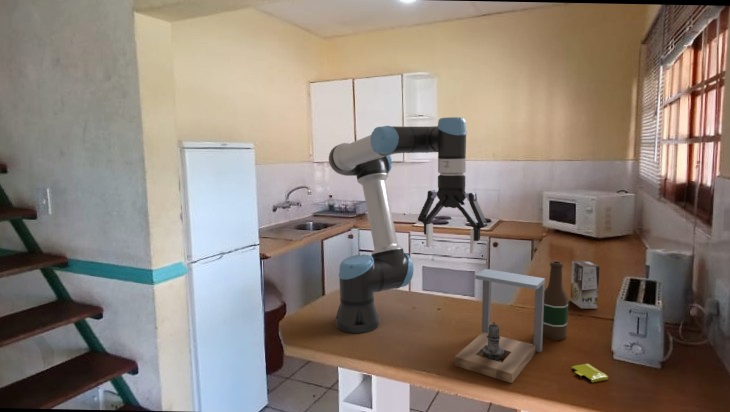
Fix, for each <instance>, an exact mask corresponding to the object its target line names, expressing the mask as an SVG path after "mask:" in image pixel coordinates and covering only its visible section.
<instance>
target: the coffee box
mask: <svg viewBox="0 0 730 412" xmlns="http://www.w3.org/2000/svg"><path fill="white" fill-rule="evenodd" d="M600 267H601V266H599V265H598V264H596V263H594V262H592V261H589V260H584V259H583V260H572V261H571V273H570V274H571V277H570V281H571V282H570V302H572V304H574V305H576V306H577V307H578V308H579V309H598V300H599V285H600V284H599V283H600Z"/></svg>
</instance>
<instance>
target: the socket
mask: <svg viewBox="0 0 730 412" xmlns="http://www.w3.org/2000/svg"><path fill="white" fill-rule="evenodd" d="M487 336H488V333H485V332H482V331H481V333H480V334H479V335H478V336H477V337H475V338H474V339H473V340H472V341H471V342H470V343H469V344H467V345H466V346H465V347H464V348H463V349H462V350H460V352H458V353H457V354H456V355H455V356H454V366H455V367H459V368H462V369H465V370H469V371H472V372H475V373H477V374H481V375H484V376H488V377H491V378H495V379H496V380H500V381H504V382H506V383H511V384H512V383H513V382H514V381H515V379H516V378H517V377H518V376H519V375H520V373H521V372H522V371H523V370H524V368H525V367H526V366H527V365H528V363H529V362H530V361H531V359H532V358H533V357H534V356H535V354H536V351H535V345H533V343H528V342H524V341H520V340H517V339H513V338H508V337H504V336H500V335H499V337H500V339H499V347H500V348H502V349H503V350H504V353H503V356H502V358H501V359H504V360H503V361H502V362H498V361H495V360H491V359H488V358H486V357H485V355H484V351H483V347H485V346H487V345H488V338H487Z"/></svg>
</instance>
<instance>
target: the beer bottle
mask: <svg viewBox="0 0 730 412" xmlns="http://www.w3.org/2000/svg"><path fill="white" fill-rule="evenodd" d="M549 266H550V272H549V281H548V285H547V287H546V288H545V290H544V315H543V338H546V339H550V340H552V341H563V339H565V338H566V337H567V333H568V321H569V320H568V316H569V297H568V294H567V292H566V291H565V289H564V287H563V285H564V284H563V267H564V265H563V262H561V261H551V262H550V263H549Z"/></svg>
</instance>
